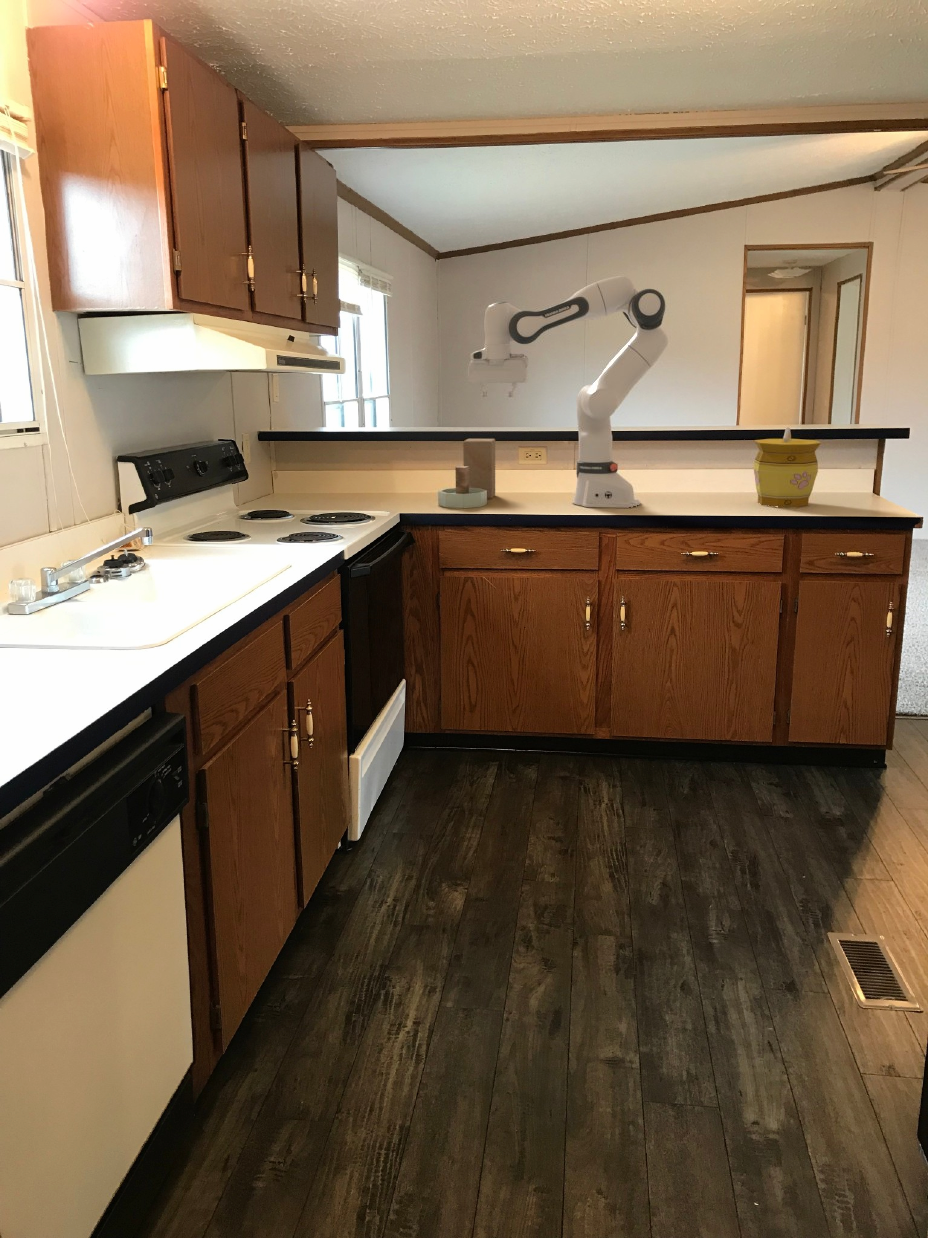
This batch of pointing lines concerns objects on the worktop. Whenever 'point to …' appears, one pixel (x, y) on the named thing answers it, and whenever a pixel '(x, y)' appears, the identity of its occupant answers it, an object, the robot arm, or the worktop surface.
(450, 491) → the octagonal green tray
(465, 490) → the wooden rectangular beam
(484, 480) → the wooden block
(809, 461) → the container
